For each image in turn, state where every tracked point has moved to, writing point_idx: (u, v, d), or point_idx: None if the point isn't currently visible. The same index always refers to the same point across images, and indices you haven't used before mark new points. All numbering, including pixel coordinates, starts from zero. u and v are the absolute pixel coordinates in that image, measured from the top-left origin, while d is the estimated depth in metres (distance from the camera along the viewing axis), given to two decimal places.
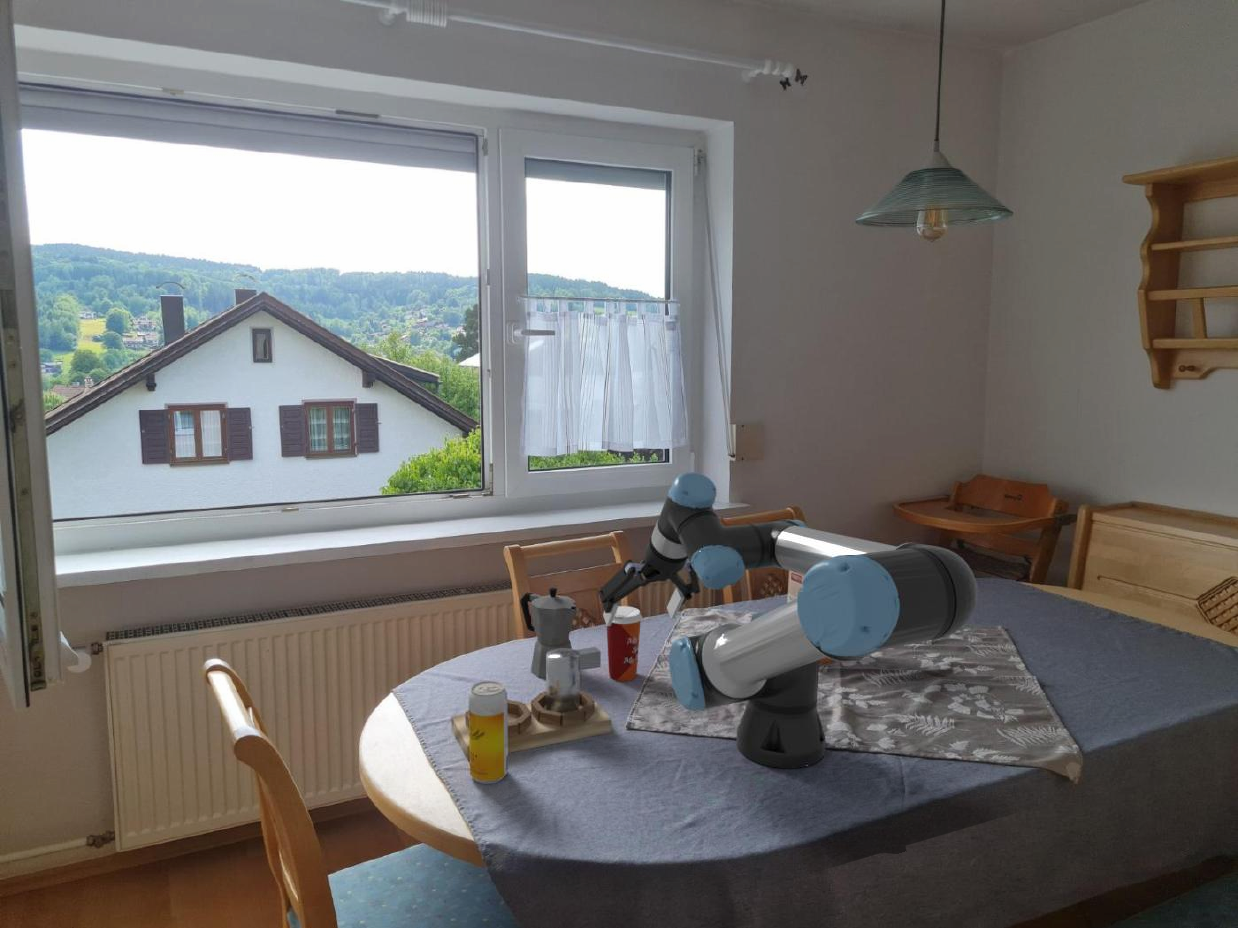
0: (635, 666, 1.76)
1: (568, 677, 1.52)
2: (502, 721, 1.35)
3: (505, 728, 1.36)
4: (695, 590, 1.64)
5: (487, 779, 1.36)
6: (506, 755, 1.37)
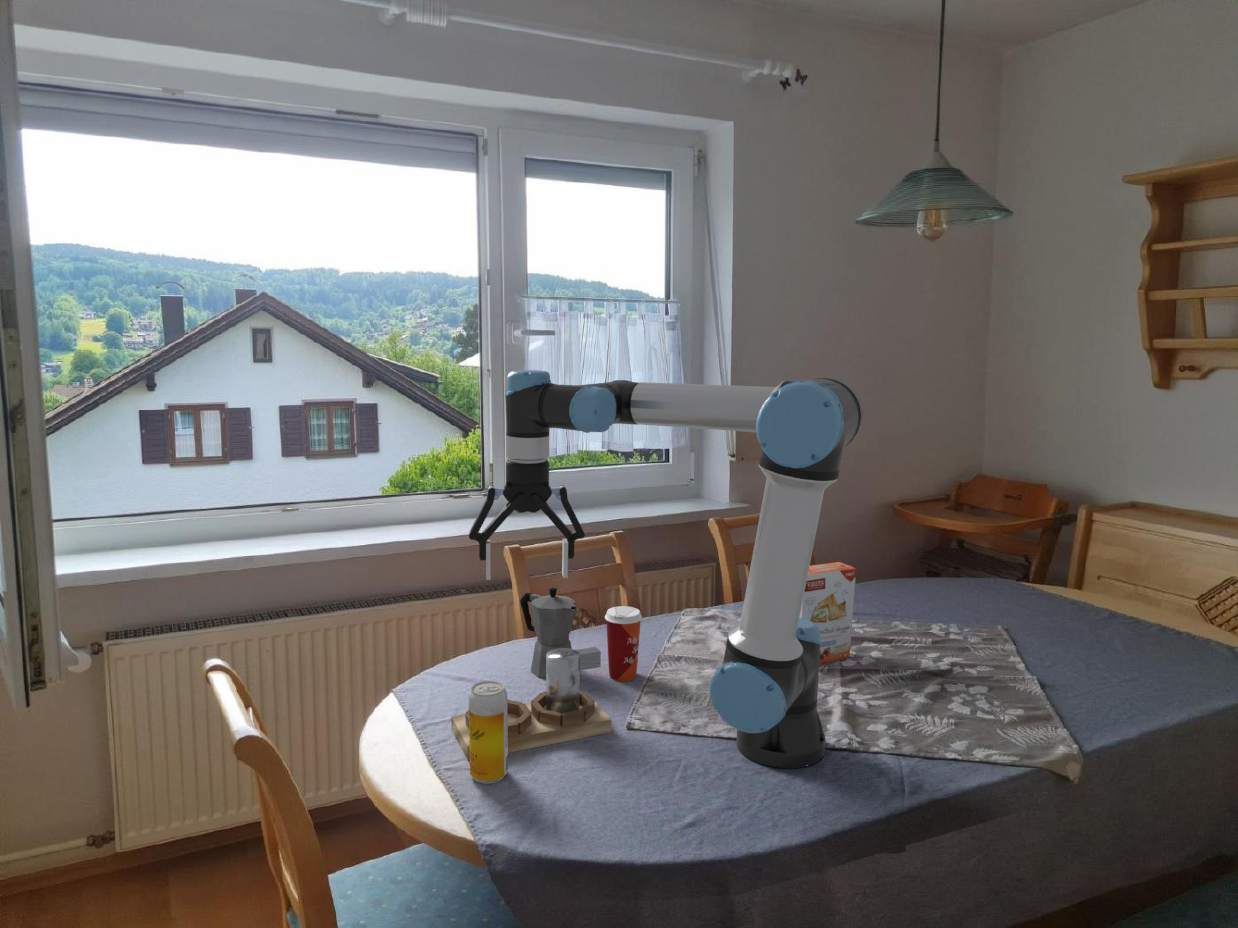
0: (635, 666, 1.76)
1: (568, 677, 1.52)
2: (502, 721, 1.35)
3: (505, 728, 1.36)
4: (578, 532, 1.52)
5: (487, 779, 1.36)
6: (506, 755, 1.37)
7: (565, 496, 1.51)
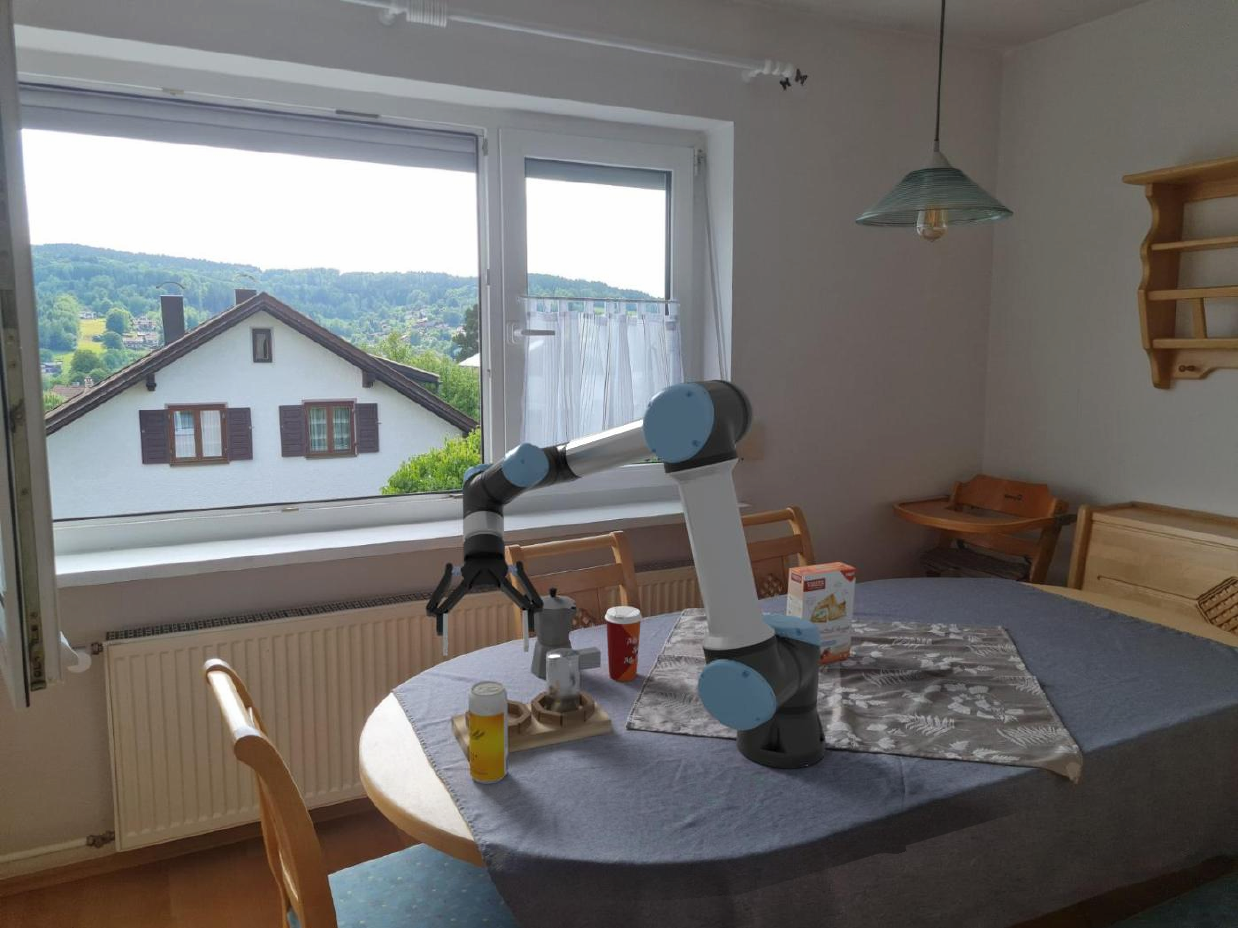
0: (635, 666, 1.76)
1: (568, 677, 1.52)
2: (502, 721, 1.35)
3: (505, 728, 1.36)
4: (536, 600, 1.51)
5: (487, 779, 1.36)
6: (506, 755, 1.37)
7: (521, 568, 1.55)
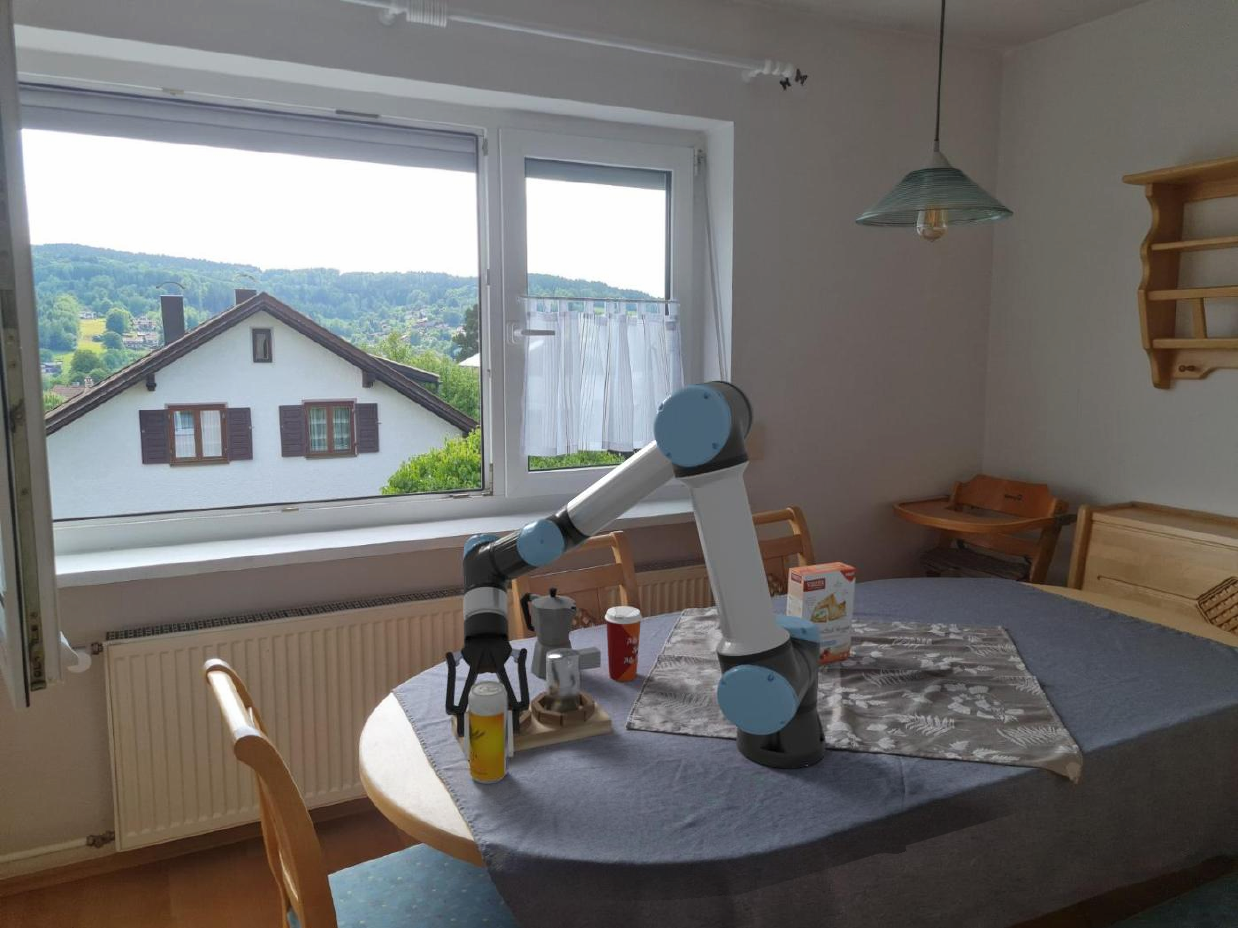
0: (635, 666, 1.76)
1: (568, 677, 1.52)
2: (502, 721, 1.35)
3: (505, 728, 1.36)
4: (524, 697, 1.39)
5: (487, 779, 1.36)
6: (506, 755, 1.37)
7: (523, 657, 1.43)
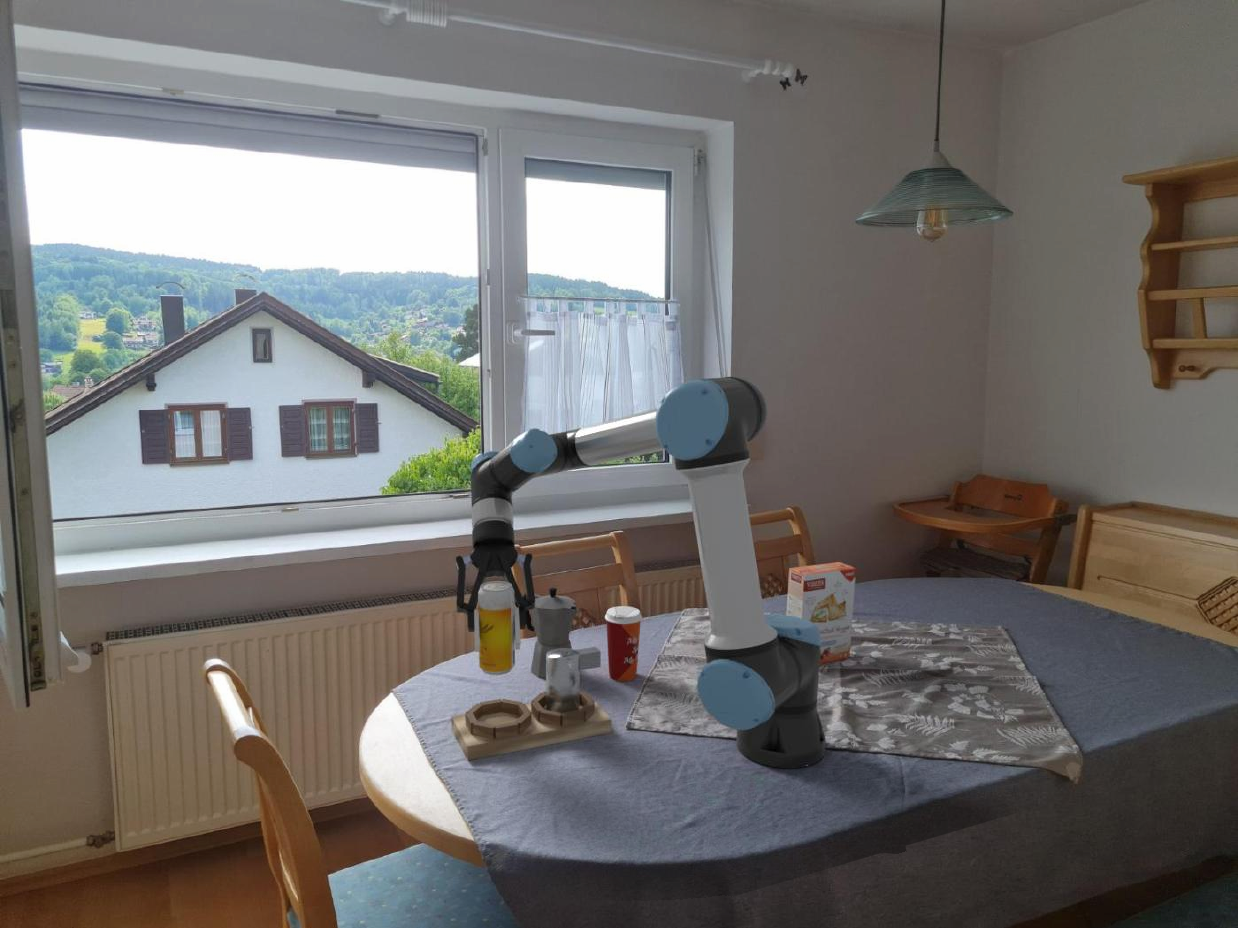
0: (635, 666, 1.76)
1: (568, 677, 1.52)
2: (510, 616, 1.45)
3: (512, 623, 1.46)
4: (529, 596, 1.49)
5: (496, 670, 1.45)
6: (513, 649, 1.47)
7: (529, 561, 1.53)
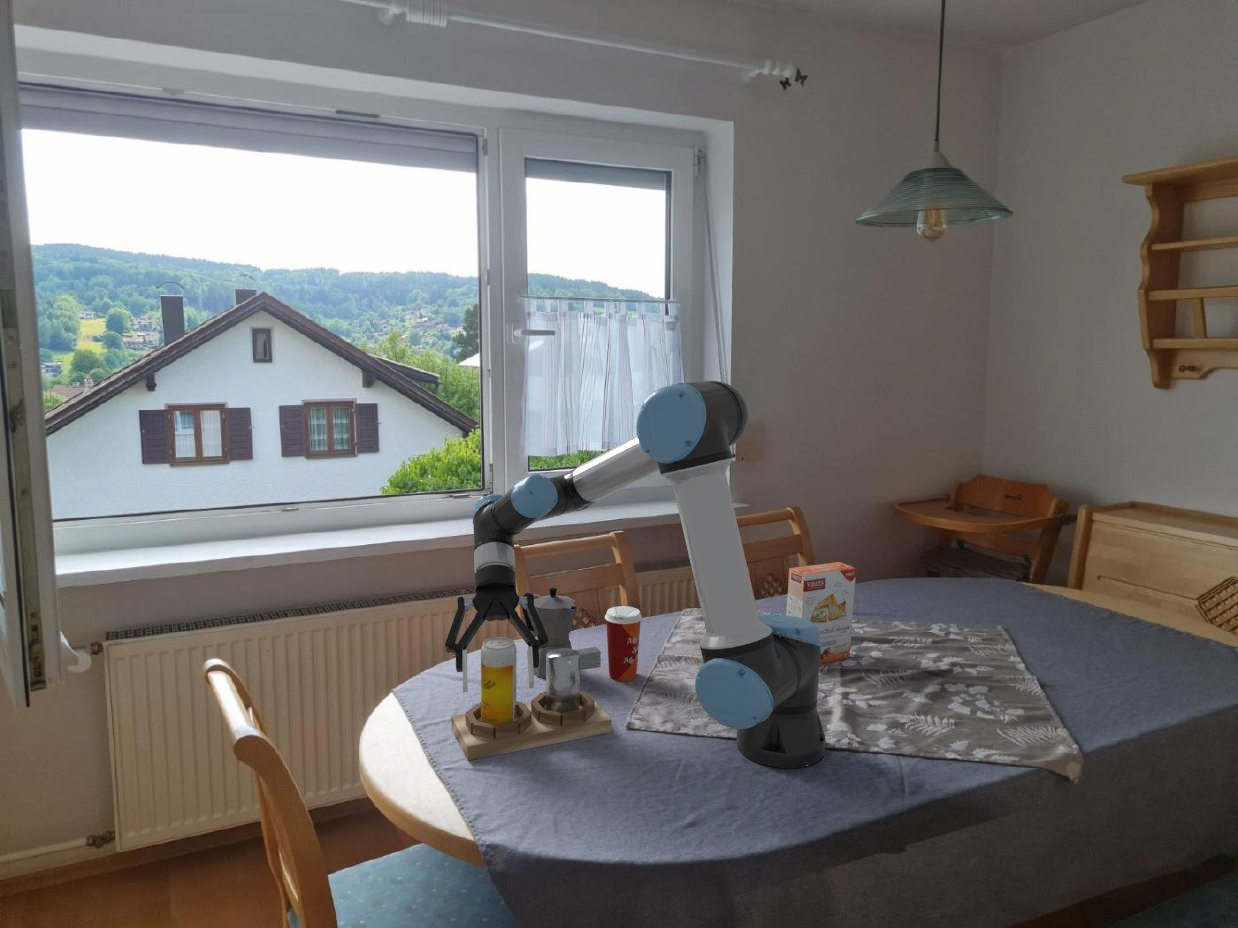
0: (635, 666, 1.76)
1: (568, 677, 1.52)
2: (512, 672, 1.48)
3: (514, 679, 1.49)
4: (542, 636, 1.52)
5: None
6: (515, 704, 1.50)
7: (532, 601, 1.56)
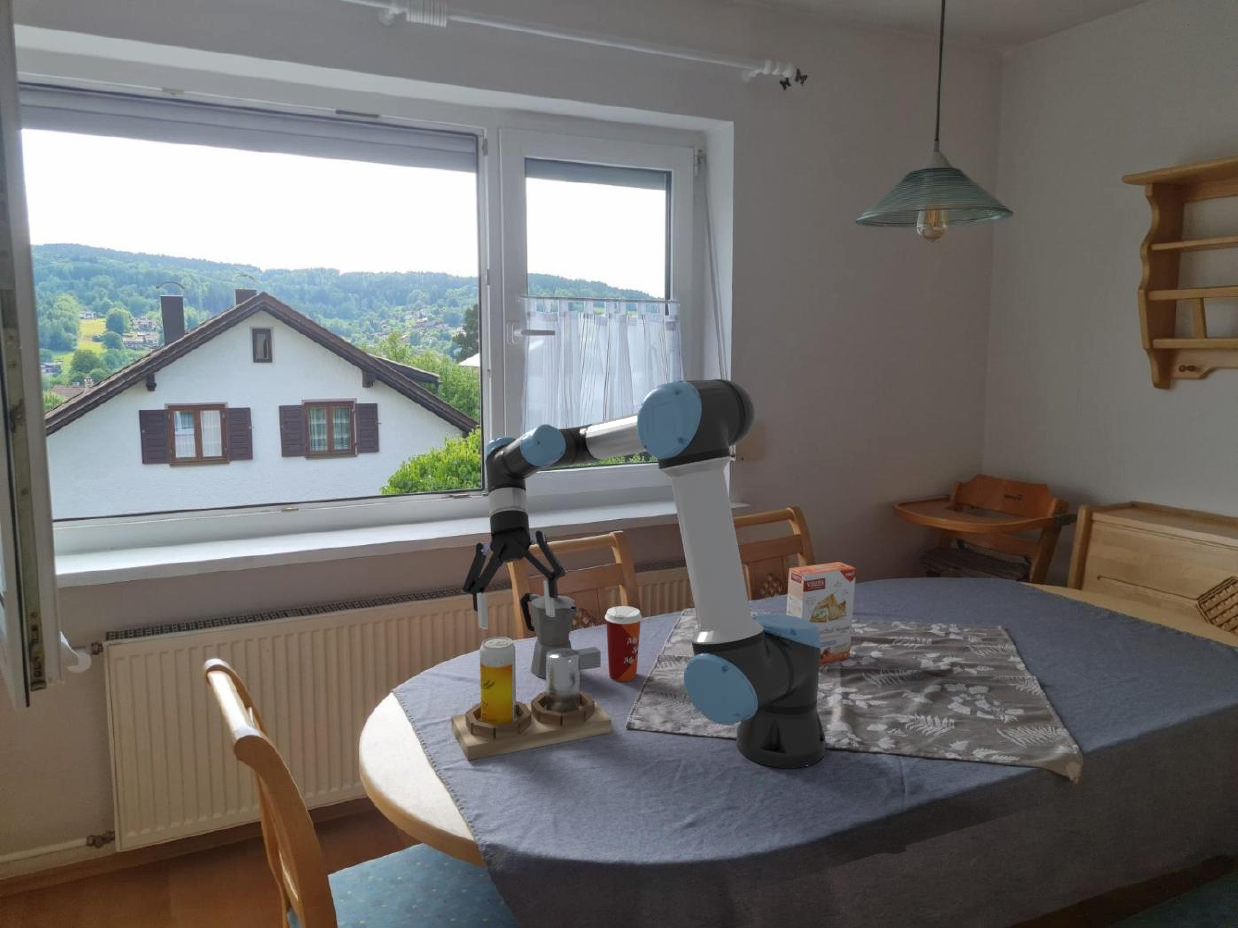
0: (635, 666, 1.76)
1: (568, 677, 1.52)
2: (511, 672, 1.48)
3: (513, 679, 1.49)
4: (555, 568, 1.61)
5: None
6: (514, 704, 1.50)
7: (540, 538, 1.64)
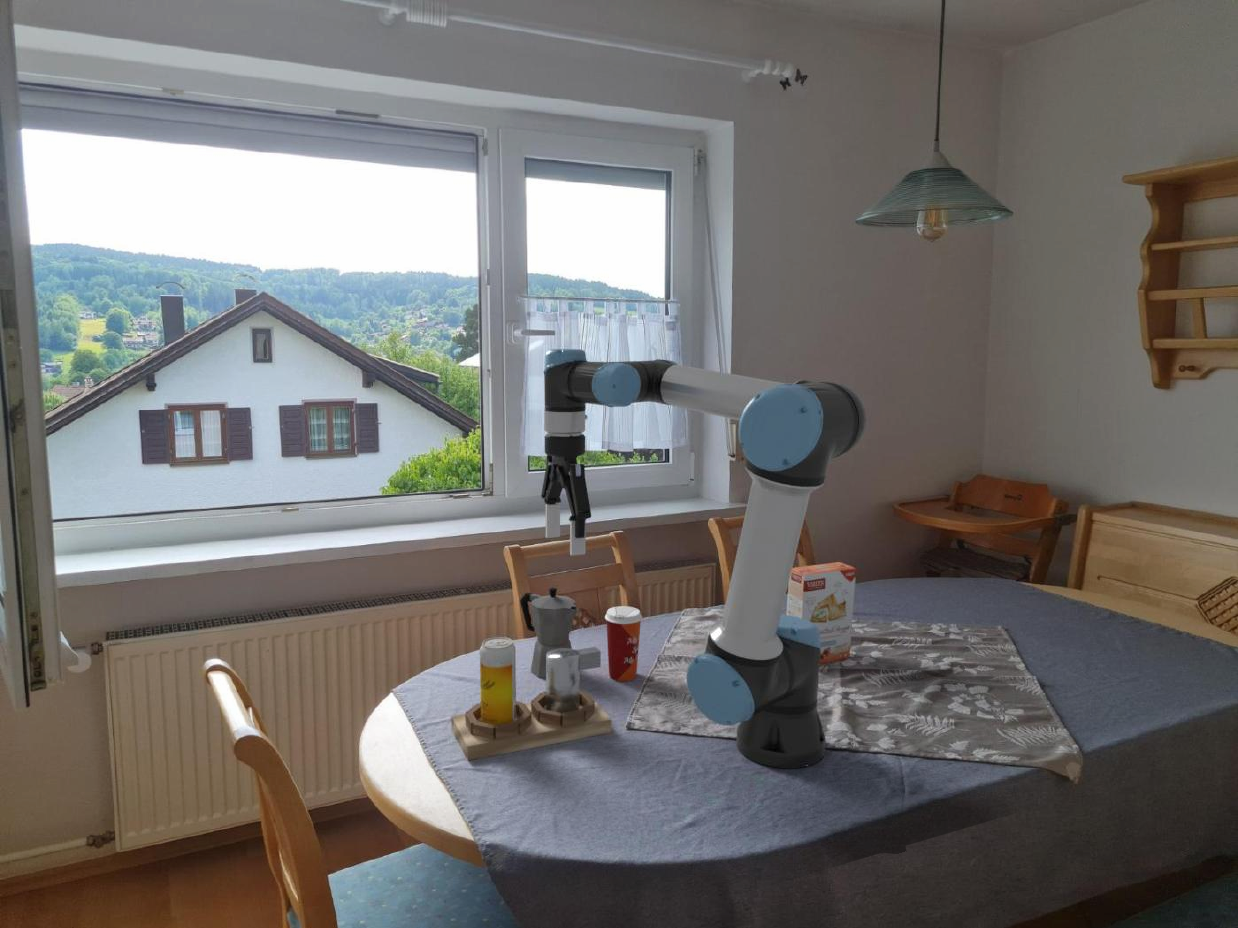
0: (635, 666, 1.76)
1: (568, 677, 1.52)
2: (511, 672, 1.48)
3: (513, 679, 1.49)
4: (576, 512, 1.52)
5: None
6: (514, 704, 1.50)
7: (571, 474, 1.53)
